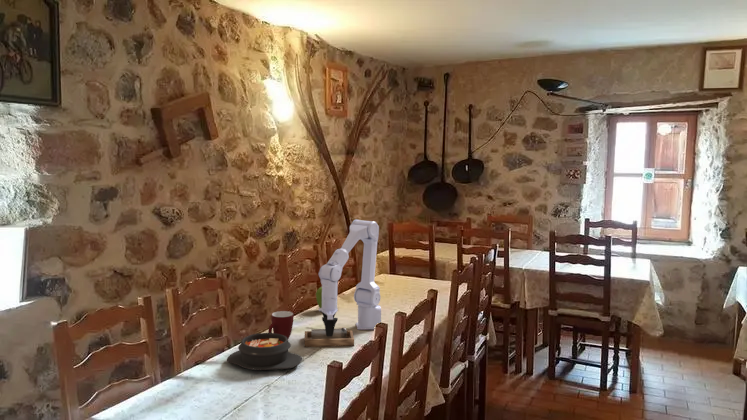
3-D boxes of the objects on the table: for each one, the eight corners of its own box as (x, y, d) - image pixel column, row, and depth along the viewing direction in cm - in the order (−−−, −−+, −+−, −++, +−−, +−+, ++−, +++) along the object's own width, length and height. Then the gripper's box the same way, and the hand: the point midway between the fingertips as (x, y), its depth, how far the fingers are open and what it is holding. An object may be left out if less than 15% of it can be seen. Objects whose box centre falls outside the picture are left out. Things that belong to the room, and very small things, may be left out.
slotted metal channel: (345, 339, 201) (346, 327, 201) (346, 341, 199) (346, 329, 199) (310, 339, 200) (310, 327, 199) (310, 341, 198) (310, 329, 197)
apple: (322, 315, 233) (323, 289, 232) (311, 310, 239) (312, 285, 238) (338, 311, 239) (339, 286, 238) (327, 307, 245) (327, 282, 244)
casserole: (216, 371, 171) (216, 345, 170) (242, 350, 189) (242, 327, 188) (290, 379, 165) (290, 353, 165) (309, 357, 184) (310, 334, 183)
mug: (279, 347, 193) (279, 320, 192) (262, 343, 197) (262, 316, 196) (297, 339, 202) (297, 313, 201) (280, 335, 206) (281, 309, 205)
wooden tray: (351, 336, 206) (351, 330, 205) (354, 346, 196) (354, 339, 196) (304, 337, 203) (304, 331, 203) (304, 347, 194) (304, 340, 193)
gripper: (318, 292, 205) (317, 326, 206) (319, 302, 190) (318, 339, 192) (336, 292, 205) (336, 326, 207) (339, 302, 191) (338, 339, 192)
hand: (329, 332), depth 199 cm, fingers open, 7 cm apart
